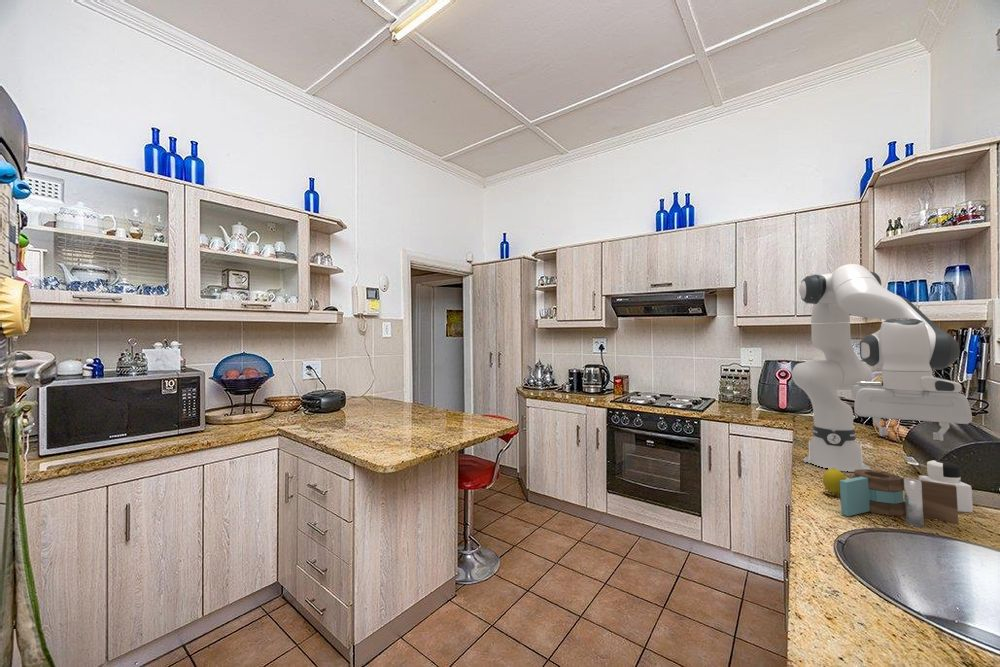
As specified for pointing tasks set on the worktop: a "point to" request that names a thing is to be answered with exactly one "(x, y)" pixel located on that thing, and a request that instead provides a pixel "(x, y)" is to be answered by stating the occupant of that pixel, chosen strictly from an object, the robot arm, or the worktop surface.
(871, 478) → the hinge fixed leaf
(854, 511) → the hinge swing leaf
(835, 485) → the lemon
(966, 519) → the worktop surface
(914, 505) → the steel pin
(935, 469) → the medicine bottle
